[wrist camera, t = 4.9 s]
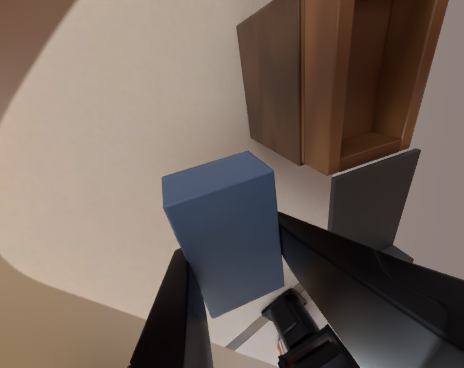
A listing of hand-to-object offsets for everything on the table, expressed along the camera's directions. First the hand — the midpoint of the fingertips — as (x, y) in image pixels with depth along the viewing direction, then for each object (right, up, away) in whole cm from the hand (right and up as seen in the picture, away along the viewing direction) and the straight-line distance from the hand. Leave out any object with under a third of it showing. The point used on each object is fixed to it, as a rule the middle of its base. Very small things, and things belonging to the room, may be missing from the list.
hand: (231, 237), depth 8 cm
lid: (+9, 0, +6) cm, 10 cm away
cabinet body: (+4, +11, +11) cm, 16 cm away
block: (0, 0, +1) cm, 1 cm away
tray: (+6, +8, +4) cm, 11 cm away
